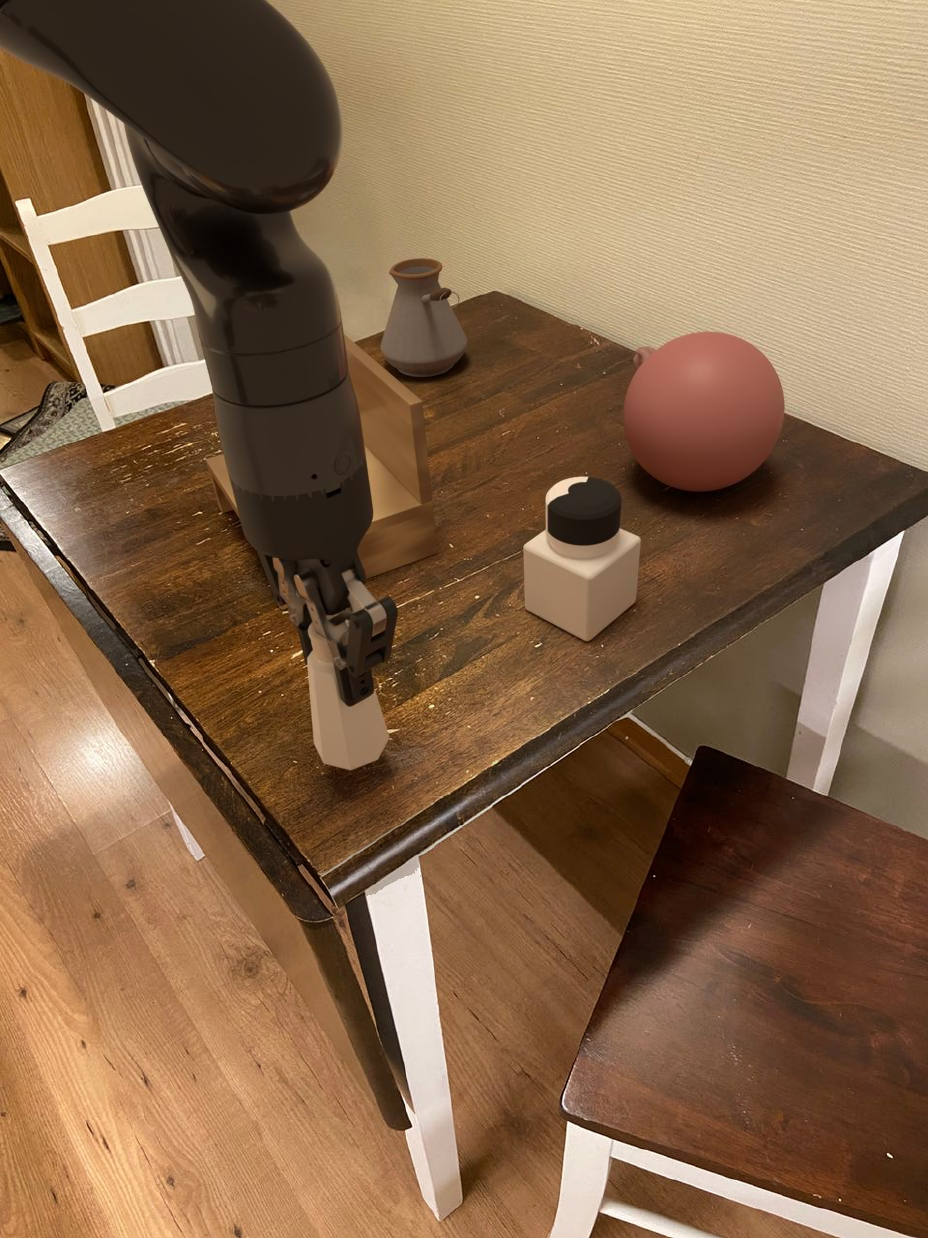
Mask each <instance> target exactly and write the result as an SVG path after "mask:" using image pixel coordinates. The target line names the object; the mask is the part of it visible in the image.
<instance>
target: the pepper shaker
mask: <svg viewBox="0 0 928 1238" xmlns="http://www.w3.org/2000/svg"><path fill="white" fill-rule="evenodd" d="M339 614H340V613H337V614H335V615H327V619H328V620H329V619H331V618H333V617H335V616H337V615H339ZM348 634H349V632H347V633H345V634H343V635H342V638H341V640H342V643H343V646H345V645H347V644H348ZM308 635H309V637H310V639H311V644H312V648H313V650H312V652H311V653H310V655H309V656H308V658H307V665H306V667H307V676H308V688H309V690H308V691H309V700H310V715H311V723H312V724H311V727H312V737H313V738H312V739H313V745H314V747H315V749H316V751H317V753H318V755H319V758H320V760H321V762H322V763H323V764H324V765H327V766H332V767H336V768H339V769H344V770H347V771H353V770H355V769H358V768H360V767H363V766H366V765H369V764H370V763H373V762H375V761H378V760H379V759H380V757H381V755H382V753H383V751H384V749H385V747H386V746H387V744H388V742H389V740H390V738H391V737H390V734H389V731H388V727H387V724H386V720H385V718H384V714H383V712H382V708H381V704H380V702H379V699H378V695H377V692H376V689H375V687H374V693H373V694H372V695H371V696H369V697H368V698H366V699H364V700H362V701H361V702H359V703H357V704H355V705H354V706H351V707H348V706H347V705H346V704H345V703H344V702H343V701H342V700H341V699H340V694H339V689H338V684H337V679H336V674H335V669H334V664H333V658H332V655H331V652H330V649H329V646H328V643H327V640H326V639H325V638H323V637H322V636H320V635H318V634H317V633H316V631H315V628H314V625H313V622H312V623H311V624H310V626H309V628H308Z"/></svg>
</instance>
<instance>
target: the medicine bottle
mask: <svg viewBox="0 0 928 1238" xmlns="http://www.w3.org/2000/svg"><path fill="white" fill-rule="evenodd" d="M621 513H622V494H621V492H620V491H619V489H617V488H616V487H615V486H614V485H613V484H612V483H611V482H609V481H607V480H605V479H601V478H597V477H592V476H573V477H568V478H566V479H563V480H560V481H558V482H556V483H555V484H553V486H551V488H550V489H548V491H547V493H546V495H545V529H544V530H543V531H541V532H540V533H539V534H537V535H536V536H534V537H533V538H532V539H530V540H529V541H528V542H526V543H525V544H524V545H523V585H524V586H523V589H524V592H523V593H524V609H525V610H526V611H528V612H530V613H532V614H534V615H536V616H538V617H539V618H541V619H543V620H545V621H546V622H549V623H550V624H553V625H555V626H556V627H558V628H560V629H562V630H564V631H566V632H567V633H569V634H571V635H573V636H575V637H576V638H579V639H581V640H582V641H584V642H590V641H591V640H592V639H594V638H595V637H596V636H597V635H599V634H600V633H601V632H602V631H603V630H604V629H606V628H607V627H608V626H609V625H610V624H611V623H612V622H614V621H615V620H616V619H617V618H619V616H621V615H622V614H624V612H625V611H627V610H628V609H629V608H630V607H631V606H632V605H634V604H635V603H636V601H637V594H638V593H637V592H638V581H639V580H638V579H639V569H640V556H641V543H642V542H641V541H642V540H641V537H640V536H638V535H636V534H634V533H632V532H629V531H627V530H626V529H625V530H624V529H622V528H620V527H621Z"/></svg>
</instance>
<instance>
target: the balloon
mask: <svg viewBox="0 0 928 1238" xmlns="http://www.w3.org/2000/svg"><path fill="white" fill-rule="evenodd" d="M635 351H636V354H634V357H633V359H632V363H633V366H634V368H635V370H636V371H635V373H634V375H633V376H632V379H631V380H630V383H629V384H628V387H627V390H626V394H625V398H624V402H623V410H622V422H623V423H622V424H623V431H624V435H625V439H626V442H627V445H628V448H629V449H630V452H631V453H632V455H633V456H634V458H635V460H636V461H637V462H638V464H639V465H640V466H641V467H642V469H644V470H645V471H646V472H647V474H649V475H650V476H651V477H653V478H654V479H656V480H657V481H659V482H660V483H662V484H663V485H666V486H667V487H670V488H671V487H672V488H674V489H678V490H681V491H686V492H695V493H696V492H697V493H700V492H701V493H702V492H703V493H704V492H712V491H717V490H721V489H724V488H728V487H731V486H732V485H735V484H737V483H739V482H741V481H743V480H744V479H746V478H747V477H748V476H750V475H751V474H752V473H754V472H755V471H756V470H757V469H758V468H759V467H760V466H761V465H763V463H764V462H765V461H766V460H767V459H768V457H769V456H770V454H771V452H772V451H773V450H774V448H775V446H776V444H777V443H778V440H779V437H780V435H781V432H782V429H783V424H784V419H785V412H786V411H785V410H786V409H785V407H786V406H785V405H786V404H785V403H786V402H785V394H784V389H783V385H782V383H781V379H780V377H779V374H778V373H777V371H776V368H775V367H774V366H773V364H772V362H771V361H770V360H769V358H768V357H767V356H766V355H765V354H764V353H763V352H762V351H761V350H760V349H759V348H757V347H756V346H755V345H753V344H752V343H750V342H749V341H747V340H745V339H744V338H741V337H739V336H737V335H734V334H729V333H725V332H721V331H697V332H696V331H695V332H690V333H687V334H684V335H681V336H678V337H675V338H673V339H671V340H669V341H667V342H666V343H663V344H662V345H661V346H660V347H658V348H657V349H656V348H654V347H651V346H649V345H646V346H640V347H638V348H636V350H635Z"/></svg>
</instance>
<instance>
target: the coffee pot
mask: <svg viewBox="0 0 928 1238" xmlns="http://www.w3.org/2000/svg"><path fill="white" fill-rule="evenodd" d="M442 270H443V264H442V262H441V261H439V260H437V259H434V258H424V257H421V258H420V257H419V258H410V259H409V258H408V259H406V260H405V259H404V260H402V261H398V262H396V263H394V265H392V266H391V268H390V269H389V271H388V274H389V275H390V276H391V277H392V279H393V280H394V281H395V283H396V284H397V288H396V291H395V295H394V298H393V301H392V304H391V309H390V310H389V315H388V318H387V321H386V325H385V329H384V331H383V336H382V339H381V342H380V346H379V347H380V351H381V352H380V353H381V354H382V356H383V357H384V359H385V361H386V362H387V363H388V364H389V365H390V366H392V367H393V368H395V369H396V370H397V371H398V372H399V373H401V374H403V375H406V376H408V377H416V378H425V377H434V376H438V375H442V374H444V373H447V372H448V371H450V370H451V369H452V368H453V367H454V366H455V364H457V363H458V361H459V360H460V359H461V358H462V356H464V354H465V352H466V349H467V345H468V338H467V336H466V333H465V331H464V330H463V328H462V325H461V324H460V322H459V320H458V318H457V315H456V314H455V312H454V310H453V309H454V308H456V307H457V306H458V305H459V303H460V296H459V294H458V293H457V292H455V291H452V289H450V288H449V287H448V288H447V287H442V286H441V284H440V282H439V278H440V272H442ZM452 294H455V295H456V297H457V298H458V299H457V303H456V304H455V305H454V306H451V304H450V302H449V300H448V299H449V298H450V296H451V295H452Z"/></svg>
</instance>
